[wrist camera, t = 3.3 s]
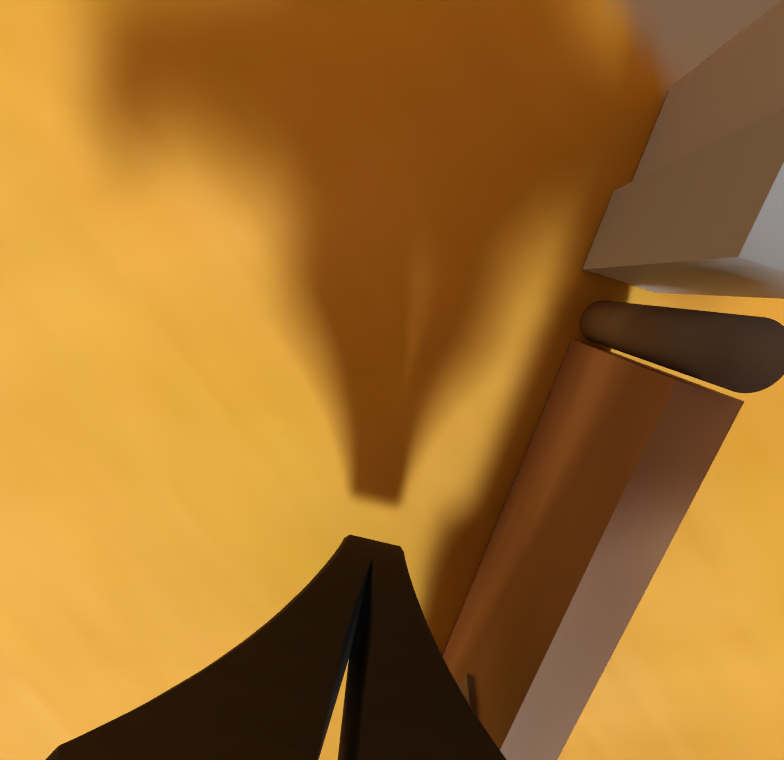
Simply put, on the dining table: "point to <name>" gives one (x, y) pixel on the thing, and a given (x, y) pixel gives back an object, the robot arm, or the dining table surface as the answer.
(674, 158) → the wall
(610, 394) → the door
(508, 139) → the dining table surface
